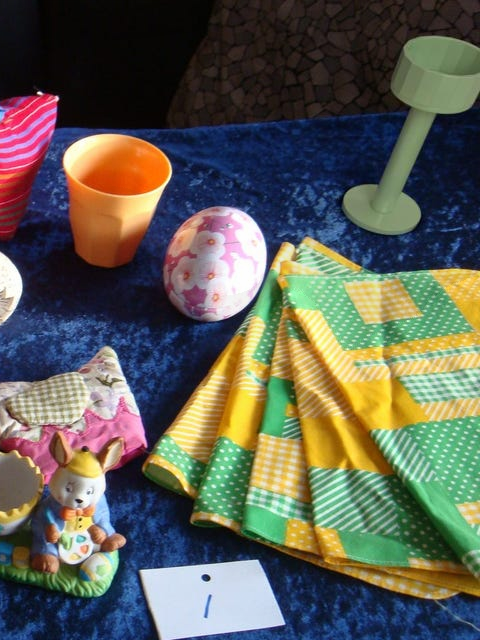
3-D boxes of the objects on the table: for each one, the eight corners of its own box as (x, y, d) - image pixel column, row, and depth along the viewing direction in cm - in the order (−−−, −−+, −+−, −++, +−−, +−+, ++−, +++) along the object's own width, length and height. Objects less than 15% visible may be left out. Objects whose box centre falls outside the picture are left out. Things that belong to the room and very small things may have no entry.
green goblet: (428, 208, 114) (504, 52, 97) (403, 246, 108) (479, 87, 92) (357, 181, 118) (418, 26, 101) (329, 216, 112) (389, 59, 96)
